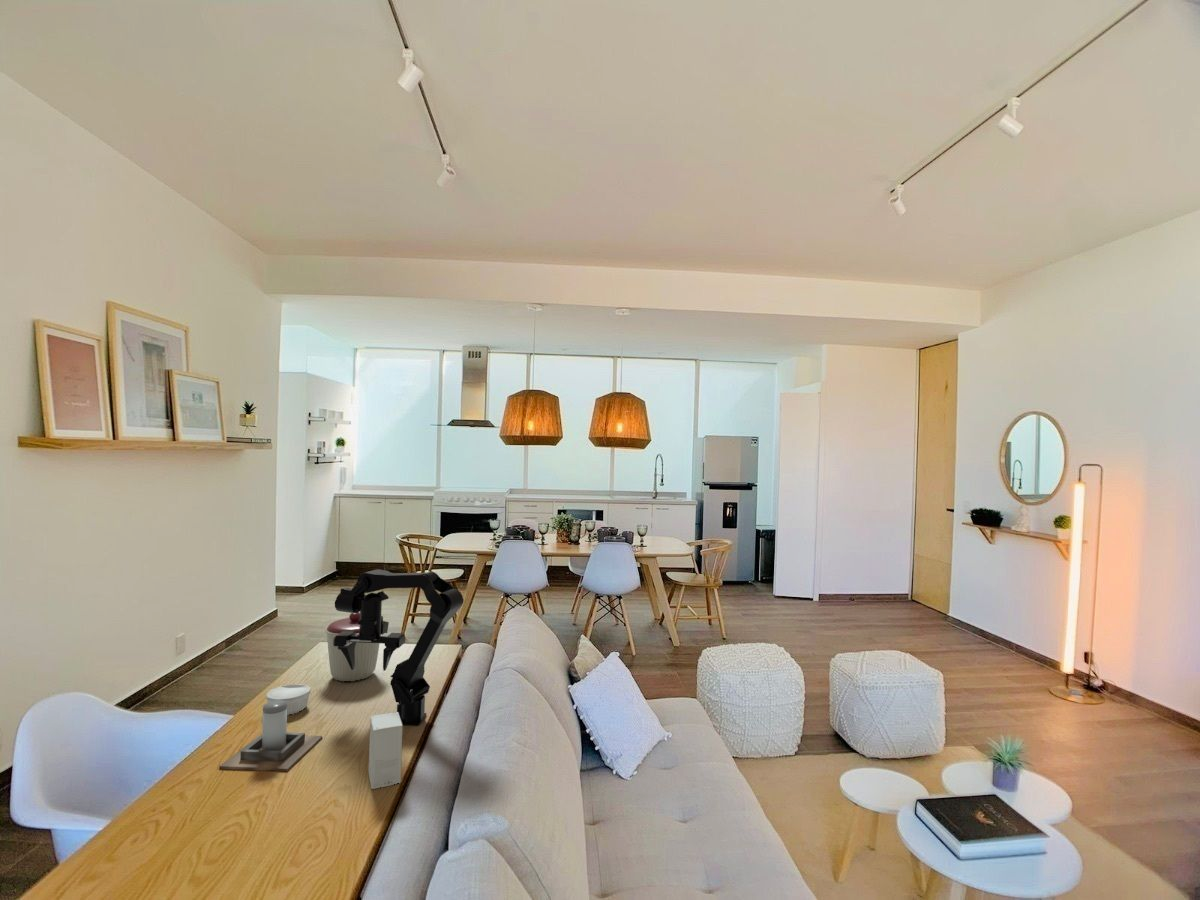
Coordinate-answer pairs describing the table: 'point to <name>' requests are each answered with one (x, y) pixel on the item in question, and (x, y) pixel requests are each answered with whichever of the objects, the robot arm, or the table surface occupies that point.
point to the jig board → (272, 754)
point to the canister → (363, 652)
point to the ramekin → (291, 696)
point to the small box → (385, 750)
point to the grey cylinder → (274, 725)
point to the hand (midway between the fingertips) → (368, 669)
